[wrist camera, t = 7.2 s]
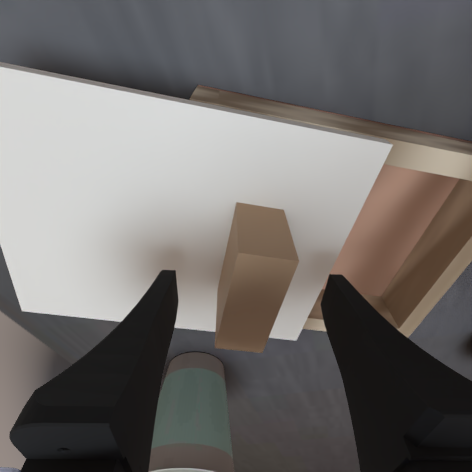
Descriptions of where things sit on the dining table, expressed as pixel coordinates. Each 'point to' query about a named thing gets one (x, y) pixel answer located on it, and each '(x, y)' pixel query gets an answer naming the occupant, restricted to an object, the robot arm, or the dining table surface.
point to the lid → (172, 205)
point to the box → (393, 213)
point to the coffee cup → (192, 418)
